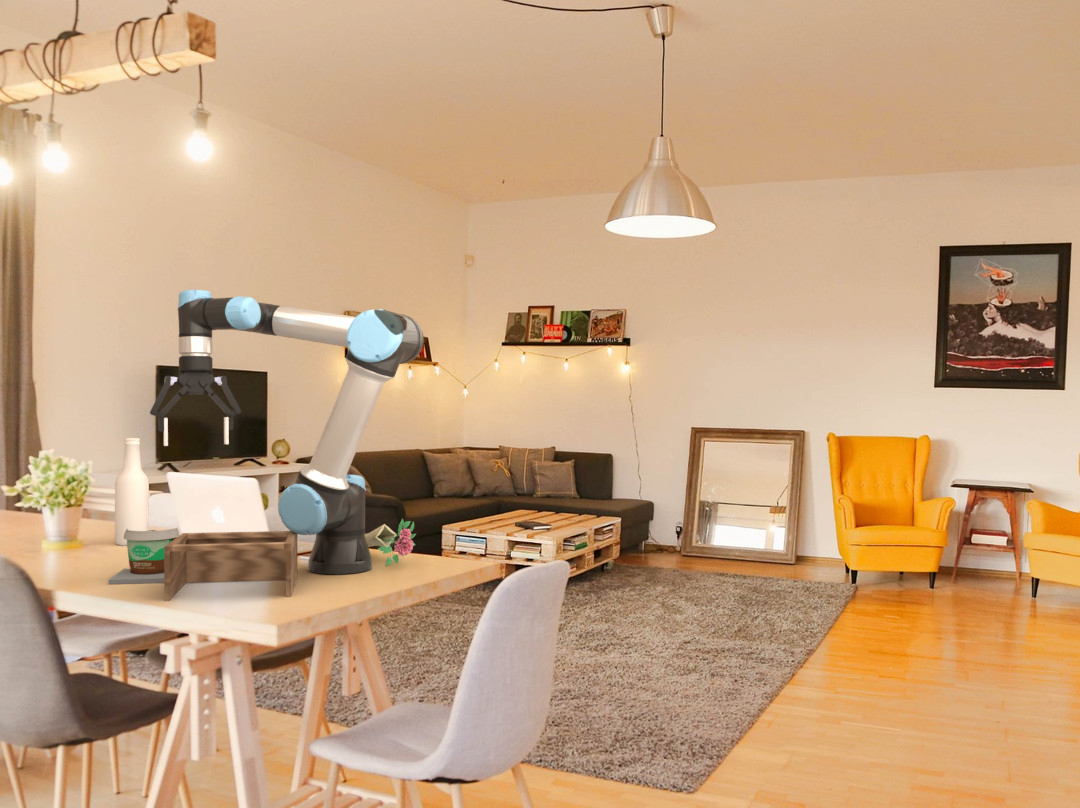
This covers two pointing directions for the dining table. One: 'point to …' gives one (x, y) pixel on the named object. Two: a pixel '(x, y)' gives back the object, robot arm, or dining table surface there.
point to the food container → (148, 550)
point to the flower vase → (386, 536)
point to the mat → (135, 578)
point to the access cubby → (230, 559)
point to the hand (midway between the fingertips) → (196, 445)
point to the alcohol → (131, 494)
